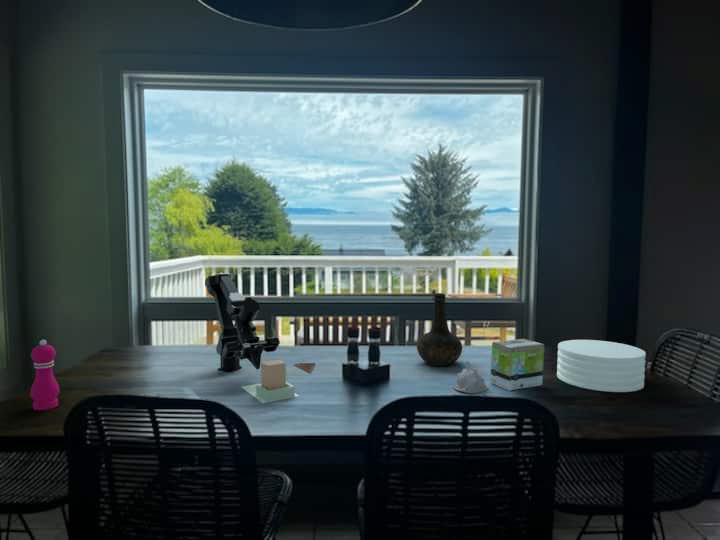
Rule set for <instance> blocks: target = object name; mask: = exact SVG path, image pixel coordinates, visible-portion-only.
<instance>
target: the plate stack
mask: <svg viewBox="0 0 720 540" xmlns="http://www.w3.org/2000/svg"><path fill="white" fill-rule="evenodd" d="M557 349H558V350H557V358H556V359H557V364H556V370H557V371H556V376H557V378H558V379H559V380H561V381H563V382H564V383H566V384H568V385H571V386H574V387H578V388H582V389H587V390H593V391H600V392H610V393H629V392H636V391H640V390H642V389H644V387H645V371H646V367H645V366H646V356H647V355H646V354H647V353H646V351H645V350H643V349H641V348H639V347H636V346H633V345H629V344H625V343H619V342H616V341H615V342H614V341H606V340H598V339H597V340H596V339H595V340H594V339H570V340H564V341H560V342H559V343H558V344H557Z"/></svg>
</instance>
